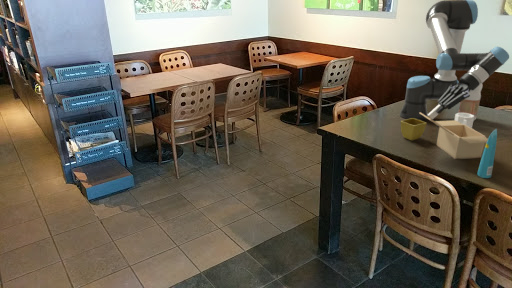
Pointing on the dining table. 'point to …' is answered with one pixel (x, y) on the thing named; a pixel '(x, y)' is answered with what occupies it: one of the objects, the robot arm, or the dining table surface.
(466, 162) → the dining table surface
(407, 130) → the flower pot
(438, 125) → the flap
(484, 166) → the tube
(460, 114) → the mug
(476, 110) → the fruit juice
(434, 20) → the robot arm
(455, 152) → the carton
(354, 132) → the dining table surface
